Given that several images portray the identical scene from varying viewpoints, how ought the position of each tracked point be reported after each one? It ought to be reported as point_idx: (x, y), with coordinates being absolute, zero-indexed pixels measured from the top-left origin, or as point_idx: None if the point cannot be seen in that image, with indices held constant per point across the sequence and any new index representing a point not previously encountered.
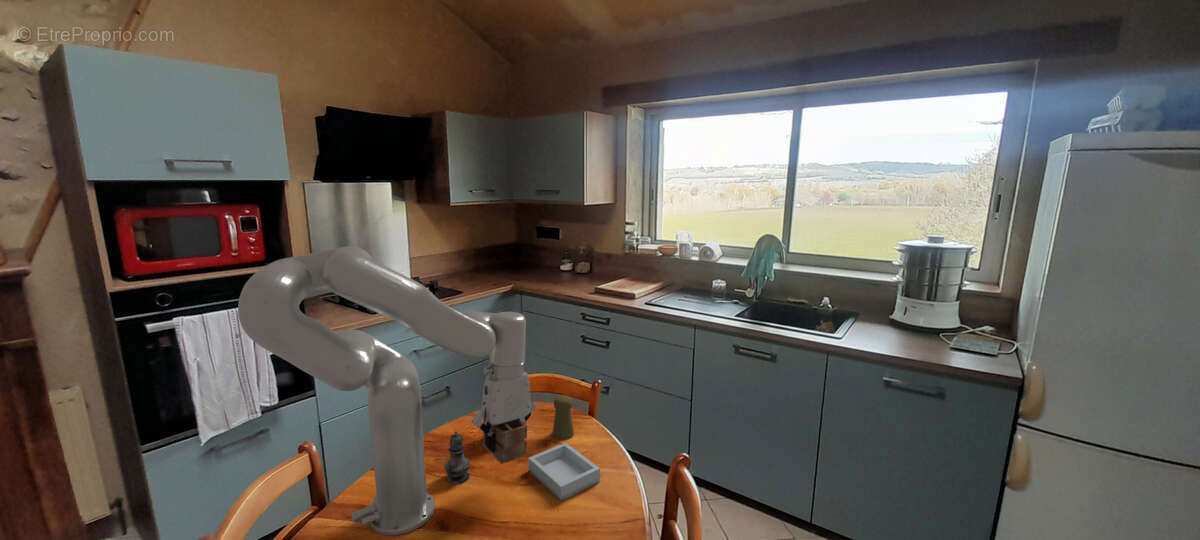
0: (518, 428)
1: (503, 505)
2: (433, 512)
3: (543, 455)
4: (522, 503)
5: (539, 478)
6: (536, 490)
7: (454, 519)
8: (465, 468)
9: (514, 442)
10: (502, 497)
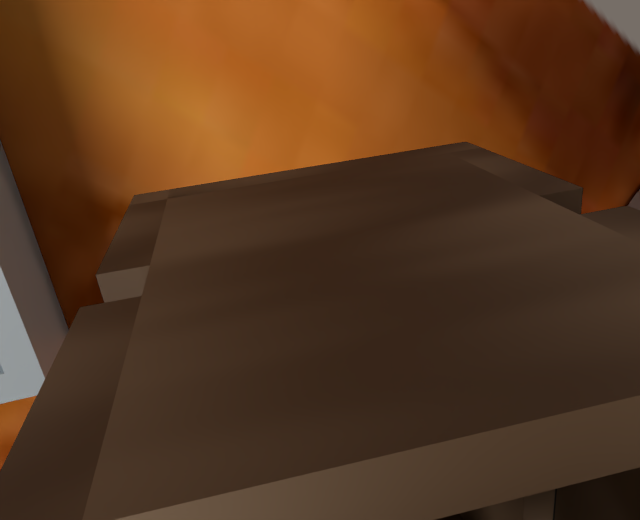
0: (360, 481)
1: (327, 85)
2: (631, 202)
3: None
4: (213, 37)
5: (19, 212)
6: (76, 120)
7: (575, 111)
8: None
9: (372, 250)
10: (305, 161)
